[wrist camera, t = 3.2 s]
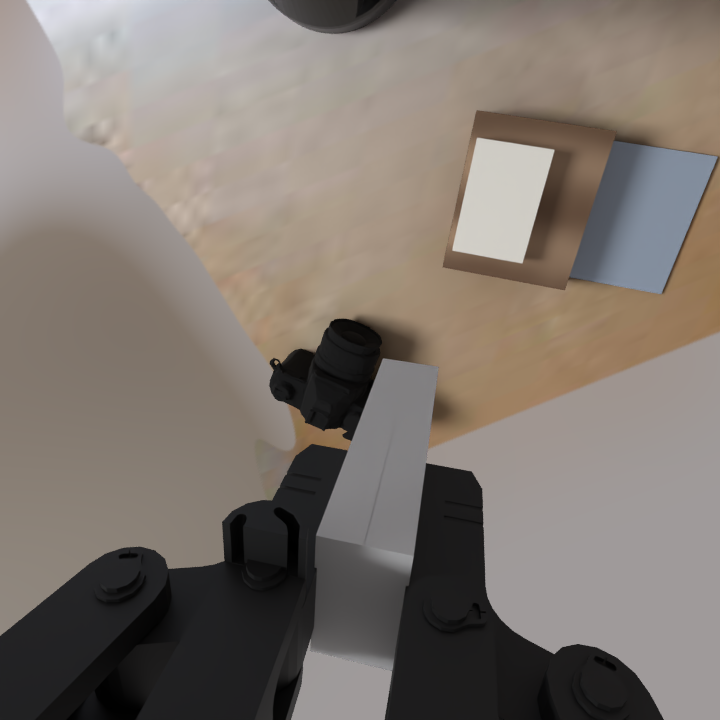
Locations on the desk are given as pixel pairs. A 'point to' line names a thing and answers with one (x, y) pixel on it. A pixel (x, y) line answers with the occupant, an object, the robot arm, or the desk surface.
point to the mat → (641, 215)
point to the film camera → (330, 377)
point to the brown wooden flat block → (542, 197)
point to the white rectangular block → (501, 199)
